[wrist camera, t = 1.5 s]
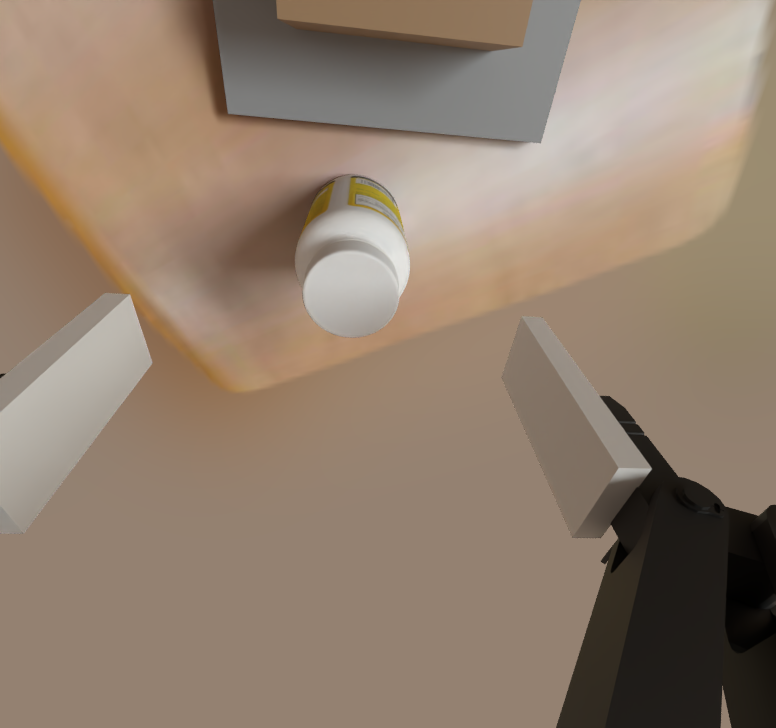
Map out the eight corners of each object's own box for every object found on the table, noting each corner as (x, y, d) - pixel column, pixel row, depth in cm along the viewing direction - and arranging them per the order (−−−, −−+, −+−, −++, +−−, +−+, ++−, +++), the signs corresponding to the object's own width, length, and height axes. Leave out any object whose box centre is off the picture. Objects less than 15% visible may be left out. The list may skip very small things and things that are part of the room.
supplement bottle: (323, 270, 25) (303, 359, 18) (299, 181, 22) (262, 243, 14) (406, 256, 25) (422, 341, 17) (393, 164, 22) (407, 218, 14)
